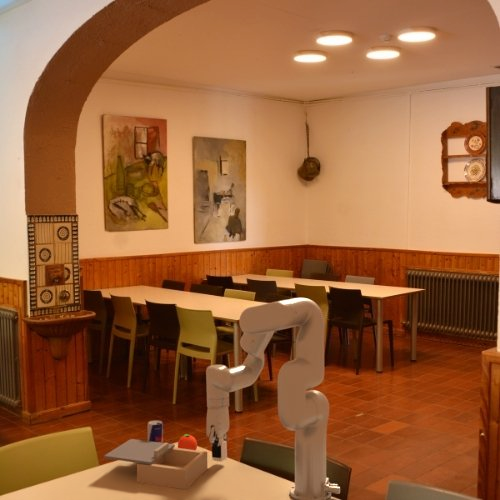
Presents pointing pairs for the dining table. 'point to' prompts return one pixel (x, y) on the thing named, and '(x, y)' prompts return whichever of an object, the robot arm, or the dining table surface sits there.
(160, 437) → the energy drink
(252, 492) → the dining table surface
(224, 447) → the pepper shaker
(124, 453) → the box lid
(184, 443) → the clementine
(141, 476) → the mailer box
